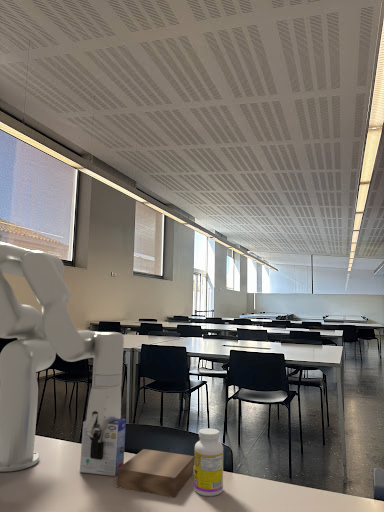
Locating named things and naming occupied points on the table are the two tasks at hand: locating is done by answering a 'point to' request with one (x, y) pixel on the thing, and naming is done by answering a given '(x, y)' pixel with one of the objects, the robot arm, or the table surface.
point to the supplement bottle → (208, 463)
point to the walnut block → (156, 472)
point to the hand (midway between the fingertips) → (103, 453)
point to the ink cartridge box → (105, 450)
